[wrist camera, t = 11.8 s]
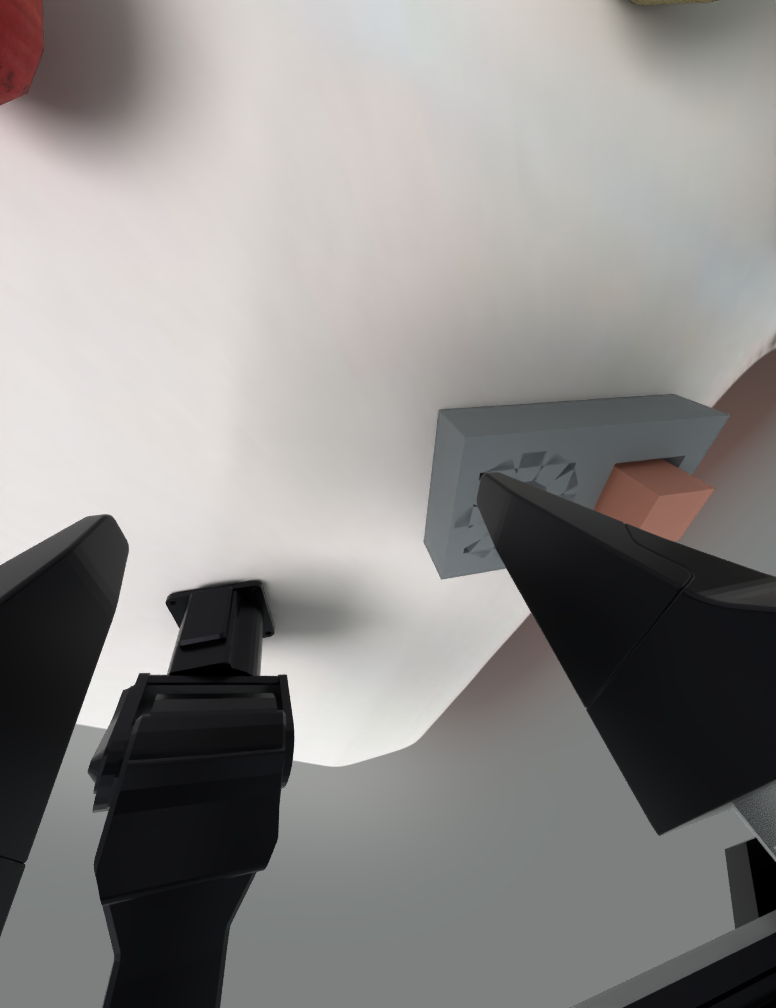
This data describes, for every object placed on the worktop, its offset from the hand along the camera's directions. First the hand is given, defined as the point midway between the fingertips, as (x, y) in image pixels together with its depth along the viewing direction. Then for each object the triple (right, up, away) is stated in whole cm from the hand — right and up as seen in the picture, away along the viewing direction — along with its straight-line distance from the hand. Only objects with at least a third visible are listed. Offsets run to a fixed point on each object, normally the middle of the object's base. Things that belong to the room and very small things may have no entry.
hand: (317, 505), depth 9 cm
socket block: (+14, +2, +18) cm, 22 cm away
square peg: (+18, +3, +18) cm, 26 cm away
